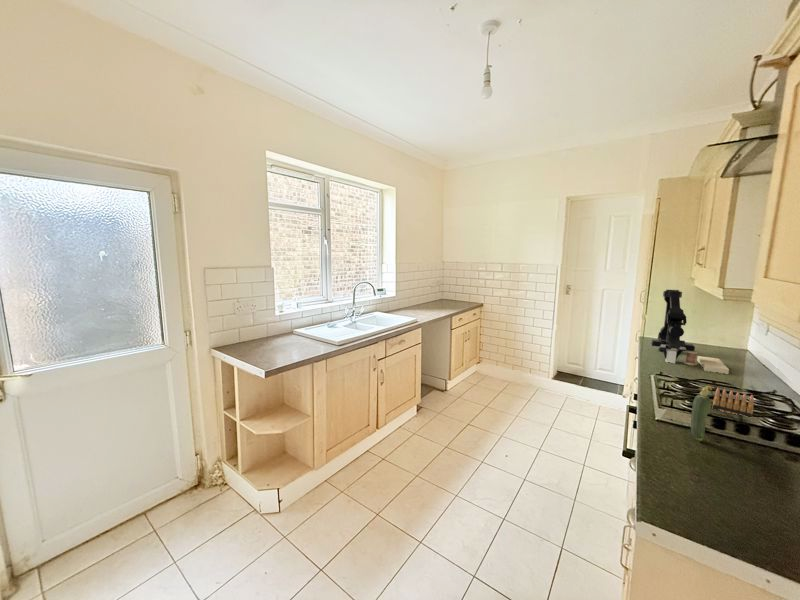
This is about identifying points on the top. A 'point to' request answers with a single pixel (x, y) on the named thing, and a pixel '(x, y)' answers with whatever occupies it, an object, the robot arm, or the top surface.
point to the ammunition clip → (733, 403)
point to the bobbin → (691, 357)
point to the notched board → (712, 364)
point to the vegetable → (700, 413)
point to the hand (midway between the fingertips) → (670, 359)
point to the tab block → (670, 355)
